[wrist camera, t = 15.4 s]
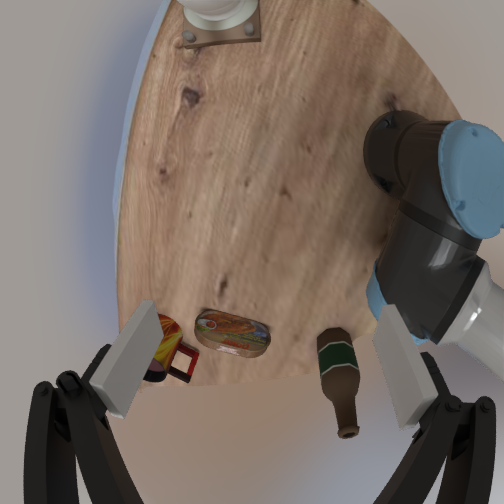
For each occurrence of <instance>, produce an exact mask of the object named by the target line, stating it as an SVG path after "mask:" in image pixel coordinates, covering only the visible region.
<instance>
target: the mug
mask: <svg viewBox="0 0 504 504" xmlns="http://www.w3.org/2000/svg"><path fill="white" fill-rule="evenodd" d="M158 317H159V320H160V324H161V327H162V331H163V334H164V337H163V339H162V341H161V343H160V345H159V347H158V349H157V351H156V353H155V355H154V357H153V359H152V361H151V363H150V365H149V367H148V369H147V371H146V373H145V375H144V378H143V380H146V381H149V382H161V381H163V380H164V379H165V378H166V376H167V373H168V374H170V375H172V376H174V377H176V378H178V379H180V380H182V381H184V382H186V383H189V382H190V379H191V376H192V373H193V370H194V367H195V365H196V363H197V360H198V356H199V353H198V352H196V351H194V350H192V349H190V348H188V347H186V346H184V345H182V344H180V342H181V340H182V335H183V334H182V330H181V328H180V327H179V325H178V324H177V323H176V322H175V321H174V320H173V319H171V318H169V317H167V316H165V315H162V314H158ZM177 350H178V351H180V352H182V353H184V354H186V355H188V356H190V357H192V360H191V363H190V366H189V369H188V372H187V374H186V373H184V372H182V371H180V370H178V369H176V368H174V367H172V366H171V364H172V361H173V359H174V356H175V354H176V352H177Z"/></svg>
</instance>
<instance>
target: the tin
mask: <svg viewBox="0 0 504 504" xmlns="http://www.w3.org/2000/svg"><path fill="white" fill-rule="evenodd" d="M194 333H195V336H196V338H197V340H198V341H199V342H200V343H201V344H203V345H204V346H206V347H208V348H212V349H215V350H219V351H223V352H226V353H230V354H234V355H238V356H242V357H246V358H255V357H258V356H261V355H262V354H263V353H264V352H265V351H266V349H267V347H268V346H269V344H270V342H271V336H270V333H269V331H268V330H267V329H266V328H265V327H264V326H263V325H262V324H260V323H258V322H256V321H253V320H250V319H246V318H242V317H238V316H234V315H231V314H227V313H224V312H220V311H214V310H211V311H205V312H203V313H201V314H200V315H198V316H197V318H196V320H195V328H194Z"/></svg>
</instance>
